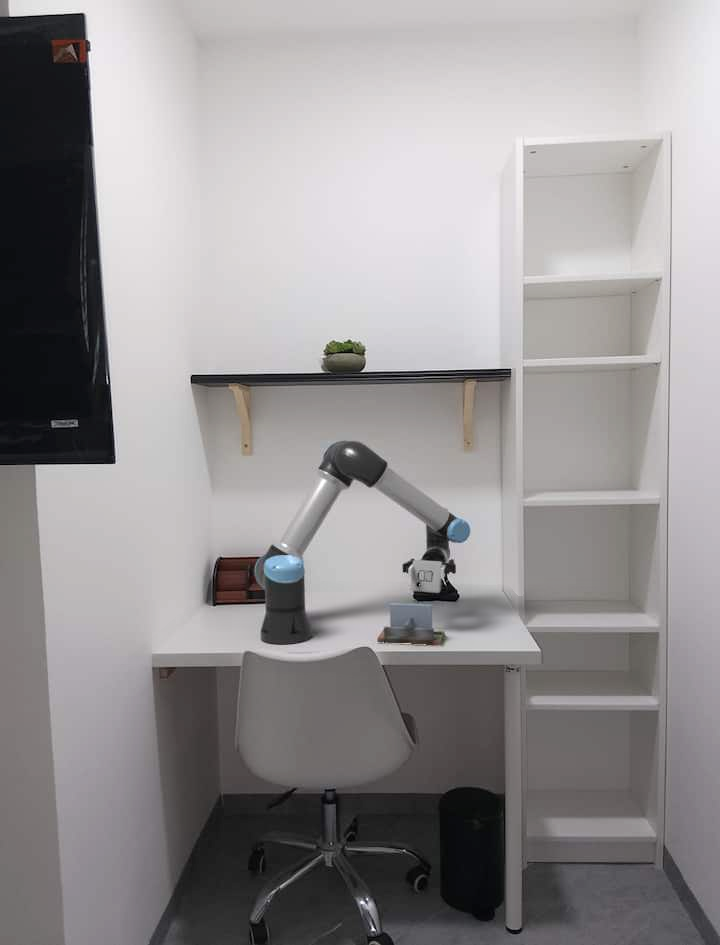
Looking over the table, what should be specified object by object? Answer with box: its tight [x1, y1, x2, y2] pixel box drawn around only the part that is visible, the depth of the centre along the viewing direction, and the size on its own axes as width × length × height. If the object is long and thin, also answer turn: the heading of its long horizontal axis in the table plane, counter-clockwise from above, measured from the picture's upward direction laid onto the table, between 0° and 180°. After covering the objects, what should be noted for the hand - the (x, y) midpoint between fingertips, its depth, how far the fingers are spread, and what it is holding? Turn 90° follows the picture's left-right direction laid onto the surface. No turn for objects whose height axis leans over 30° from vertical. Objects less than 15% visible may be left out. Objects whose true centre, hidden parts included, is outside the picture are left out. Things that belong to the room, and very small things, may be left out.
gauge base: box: [376, 626, 446, 646], centre depth 207 cm, size 18×10×4 cm, turn 77°
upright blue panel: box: [389, 602, 443, 634], centre depth 203 cm, size 15×8×8 cm, turn 77°
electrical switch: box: [409, 559, 443, 594], centre depth 215 cm, size 9×5×9 cm, turn 63°
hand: (425, 573), depth 210 cm, fingers closed on electrical switch, 9 cm apart
